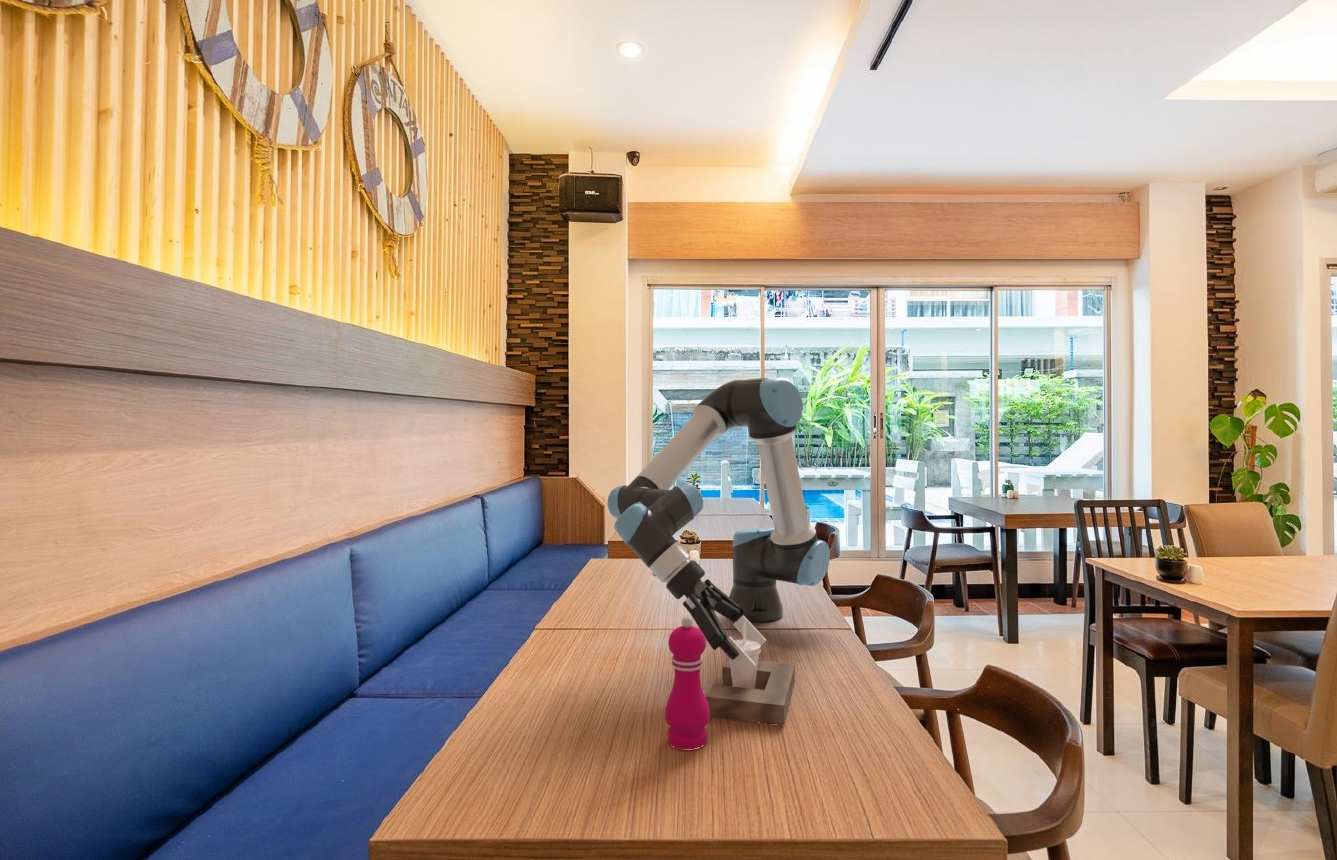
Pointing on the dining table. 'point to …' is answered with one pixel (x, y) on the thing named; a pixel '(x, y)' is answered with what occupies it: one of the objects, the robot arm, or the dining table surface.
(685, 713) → the pepper mill
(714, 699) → the notched board
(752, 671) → the smoothie
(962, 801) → the dining table surface
